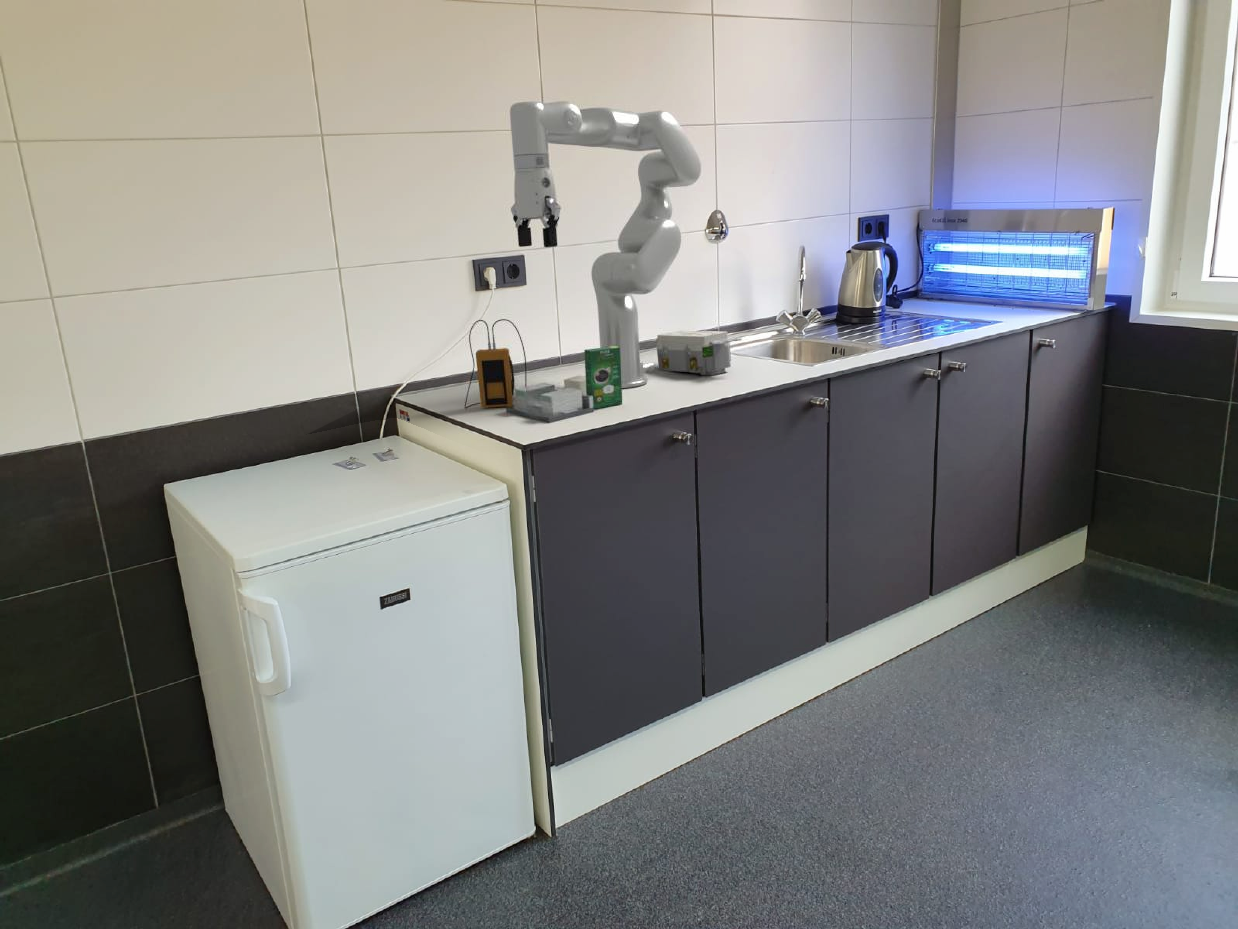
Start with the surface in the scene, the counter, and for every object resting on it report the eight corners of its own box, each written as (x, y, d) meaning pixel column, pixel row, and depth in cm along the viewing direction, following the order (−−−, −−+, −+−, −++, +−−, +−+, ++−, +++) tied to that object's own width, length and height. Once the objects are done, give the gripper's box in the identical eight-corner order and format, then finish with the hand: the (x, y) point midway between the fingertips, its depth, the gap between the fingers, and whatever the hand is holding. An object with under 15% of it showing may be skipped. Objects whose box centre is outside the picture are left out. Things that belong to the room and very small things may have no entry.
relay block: (579, 396, 216) (578, 375, 215) (595, 398, 213) (594, 377, 211) (565, 400, 212) (564, 379, 211) (581, 403, 209) (580, 381, 208)
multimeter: (531, 396, 218) (524, 312, 213) (529, 406, 209) (521, 317, 203) (469, 400, 218) (460, 315, 212) (464, 410, 209) (455, 321, 203)
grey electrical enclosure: (716, 379, 223) (712, 337, 221) (642, 372, 246) (639, 335, 243) (750, 371, 230) (747, 331, 227) (675, 365, 252) (672, 329, 250)
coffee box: (617, 401, 208) (613, 344, 204) (624, 404, 205) (620, 345, 202) (586, 408, 204) (582, 349, 200) (593, 410, 201) (589, 350, 198)
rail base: (549, 401, 212) (547, 380, 210) (593, 411, 200) (592, 389, 199) (506, 411, 204) (504, 389, 203) (549, 422, 193) (547, 399, 191)
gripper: (569, 161, 192) (575, 245, 197) (523, 165, 205) (529, 244, 210) (540, 162, 187) (546, 248, 192) (495, 166, 200) (501, 247, 205)
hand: (537, 246), depth 201 cm, fingers open, 9 cm apart
